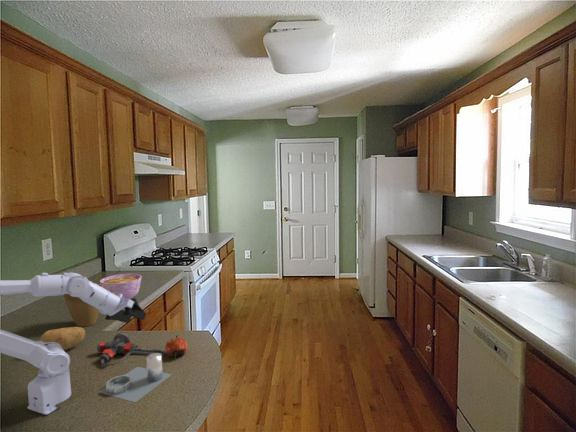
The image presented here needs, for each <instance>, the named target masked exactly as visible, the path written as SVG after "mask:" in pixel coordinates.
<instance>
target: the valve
mask: <svg viewBox="0 0 576 432" xmlns="http://www.w3.org/2000/svg"><path fill="white" fill-rule="evenodd" d="M96 350H97V352H98V353H101V354H100V357H99V358H100V365H101V366H102V368H108V367H109V366H115V365H117V364H120V363H122V362H124V361H125V360H126V359H127V358H128V357H129V356H131V355H133V354H134V355H141V356H148V355H150V354H153V353H160V354H161V355H162V357H164V356H165V355H167V353H166V352H165V349H164V350H161V349H151V348H142V347H139V346H138V345H137V344H136V343H135V342H131V338H130V337H129V335H127V334H126V333H123V332H119V333H117V334H116V335H115V336H114V337H113V340H111V341H101V342H99V343H98V344H97V345H96ZM117 354H123V355H124V356H123V357H122V358H121V359H120V360H119V361H117V362H114V363H111V364H110V363H109V364H108V362H111V361H112V360H113V359H114V356H115V355H117Z"/></svg>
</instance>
